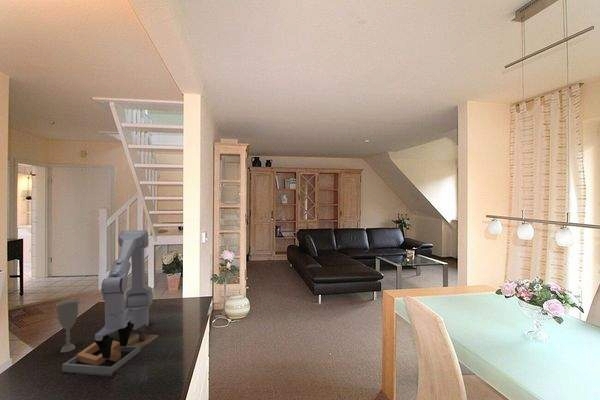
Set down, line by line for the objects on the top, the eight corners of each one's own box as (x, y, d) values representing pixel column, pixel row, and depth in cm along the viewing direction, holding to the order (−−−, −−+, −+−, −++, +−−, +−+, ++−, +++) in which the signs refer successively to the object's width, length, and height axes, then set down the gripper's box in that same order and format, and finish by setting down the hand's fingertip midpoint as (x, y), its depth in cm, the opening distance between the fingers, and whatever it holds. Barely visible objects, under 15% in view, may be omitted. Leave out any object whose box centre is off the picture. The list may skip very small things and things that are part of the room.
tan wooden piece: (113, 348, 108) (113, 331, 108) (132, 336, 118) (132, 320, 118) (142, 350, 107) (142, 332, 107) (159, 337, 117) (159, 321, 117)
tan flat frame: (77, 361, 98) (76, 354, 97) (102, 343, 106) (101, 337, 106) (106, 369, 94) (105, 362, 94) (130, 350, 102) (129, 344, 102)
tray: (62, 372, 93) (62, 364, 93) (97, 350, 107) (96, 343, 107) (111, 376, 91) (111, 368, 91) (140, 353, 104) (140, 346, 104)
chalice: (84, 348, 108) (84, 300, 108) (64, 358, 102) (64, 307, 102) (71, 345, 111) (70, 298, 111) (51, 354, 104) (50, 305, 104)
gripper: (108, 321, 90) (109, 364, 91) (140, 304, 105) (140, 341, 105) (88, 320, 91) (89, 363, 91) (122, 303, 106) (123, 340, 106)
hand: (115, 351), depth 98 cm, fingers open, 7 cm apart
